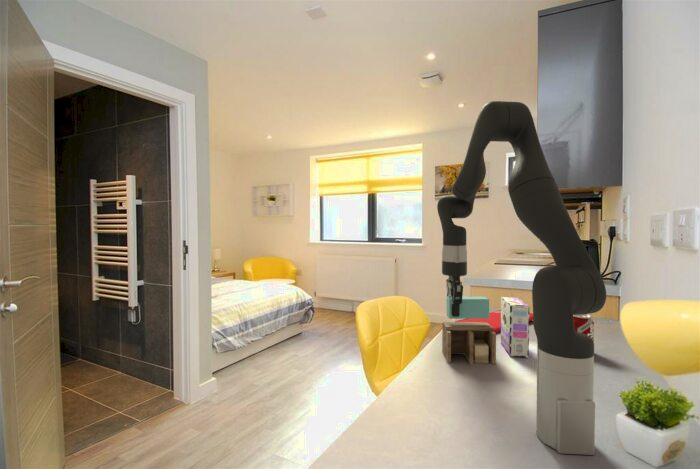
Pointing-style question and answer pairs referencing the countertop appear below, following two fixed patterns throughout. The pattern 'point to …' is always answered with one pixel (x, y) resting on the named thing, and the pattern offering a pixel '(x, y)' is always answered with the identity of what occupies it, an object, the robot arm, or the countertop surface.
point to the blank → (470, 308)
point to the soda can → (584, 325)
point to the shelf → (467, 339)
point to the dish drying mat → (492, 320)
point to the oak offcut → (480, 351)
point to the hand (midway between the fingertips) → (454, 314)
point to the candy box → (515, 327)
